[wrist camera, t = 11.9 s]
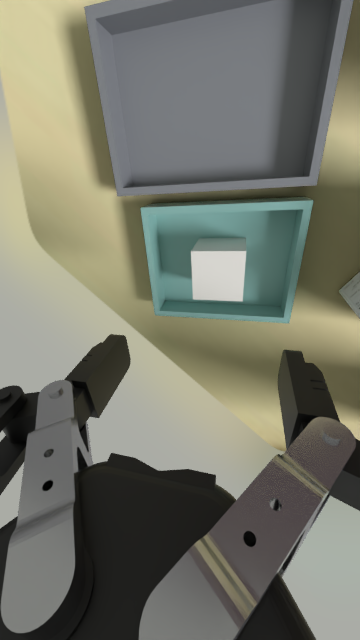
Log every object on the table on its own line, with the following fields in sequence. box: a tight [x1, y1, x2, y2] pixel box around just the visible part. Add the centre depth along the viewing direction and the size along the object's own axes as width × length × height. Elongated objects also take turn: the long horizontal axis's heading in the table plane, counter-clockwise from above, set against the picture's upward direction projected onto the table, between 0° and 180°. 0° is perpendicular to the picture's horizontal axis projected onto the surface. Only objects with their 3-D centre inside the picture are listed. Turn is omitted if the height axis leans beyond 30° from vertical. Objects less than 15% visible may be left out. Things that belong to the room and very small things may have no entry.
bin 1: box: [84, 0, 353, 196], centre depth 18 cm, size 16×11×3 cm
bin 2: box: [141, 197, 314, 323], centre depth 24 cm, size 14×11×3 cm
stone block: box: [191, 238, 246, 302], centre depth 23 cm, size 4×4×4 cm
